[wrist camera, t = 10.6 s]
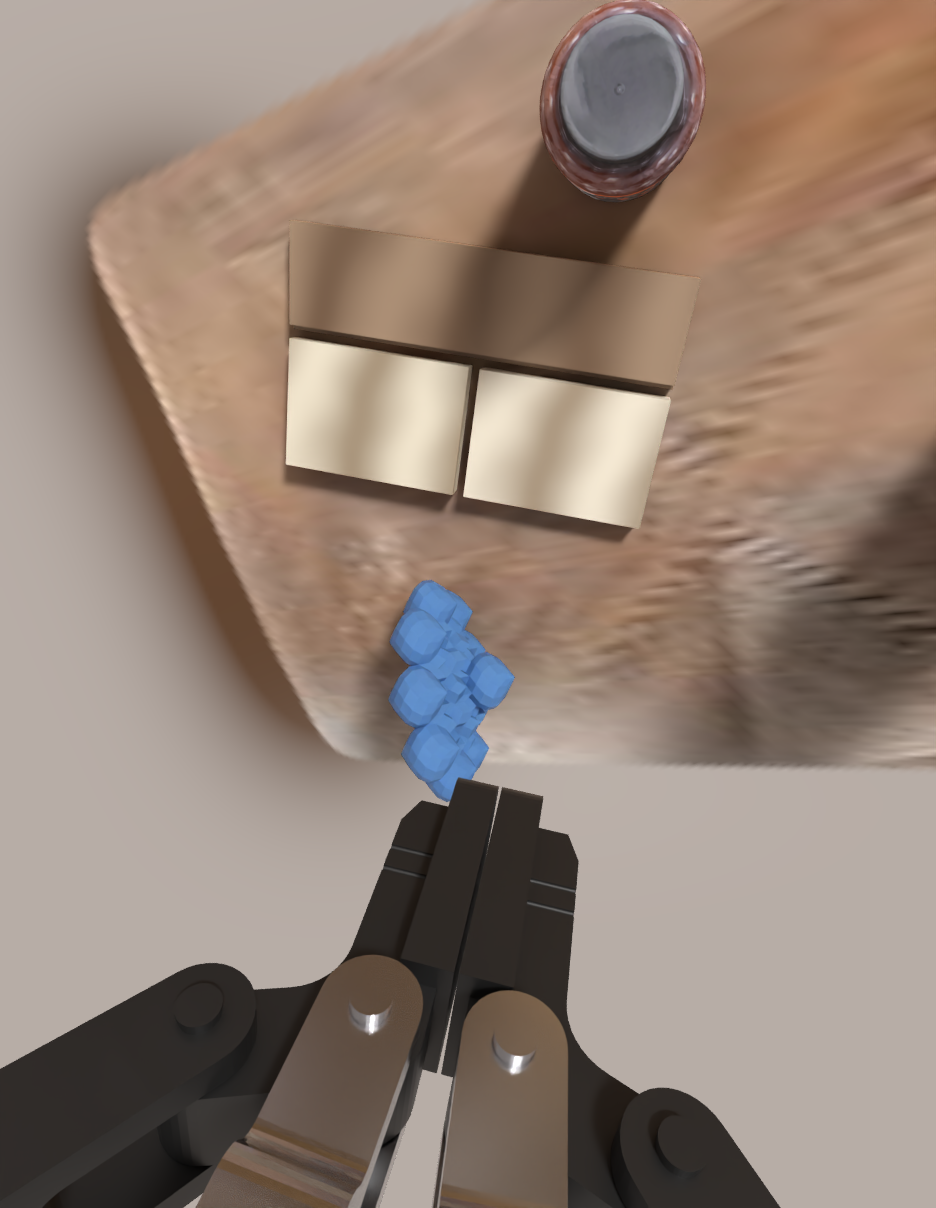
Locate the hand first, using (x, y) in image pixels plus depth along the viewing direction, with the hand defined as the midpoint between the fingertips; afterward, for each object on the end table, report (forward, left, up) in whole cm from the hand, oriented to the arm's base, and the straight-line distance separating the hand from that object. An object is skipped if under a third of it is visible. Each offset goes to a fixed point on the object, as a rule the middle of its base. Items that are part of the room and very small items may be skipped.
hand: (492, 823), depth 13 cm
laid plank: (+6, -5, -31) cm, 32 cm away
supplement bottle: (+1, -13, -31) cm, 34 cm away
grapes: (+4, +15, -31) cm, 35 cm away
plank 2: (+1, +2, -31) cm, 31 cm away
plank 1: (+12, +2, -31) cm, 33 cm away
